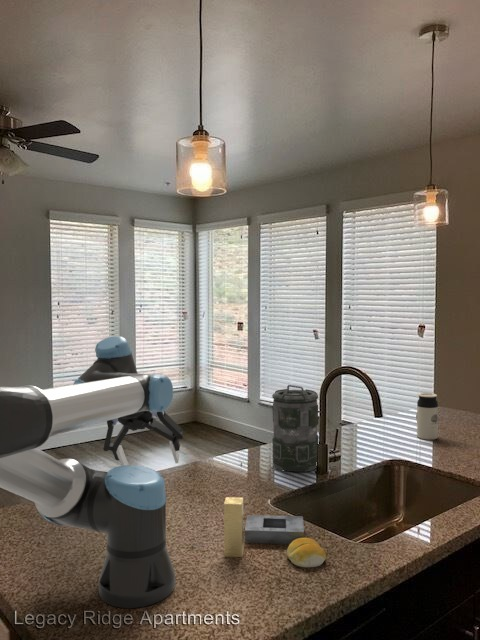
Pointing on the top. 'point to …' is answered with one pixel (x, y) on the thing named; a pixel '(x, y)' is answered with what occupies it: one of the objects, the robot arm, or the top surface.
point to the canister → (295, 429)
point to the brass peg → (233, 527)
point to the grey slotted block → (273, 529)
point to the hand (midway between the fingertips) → (151, 463)
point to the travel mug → (427, 416)
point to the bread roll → (306, 553)
